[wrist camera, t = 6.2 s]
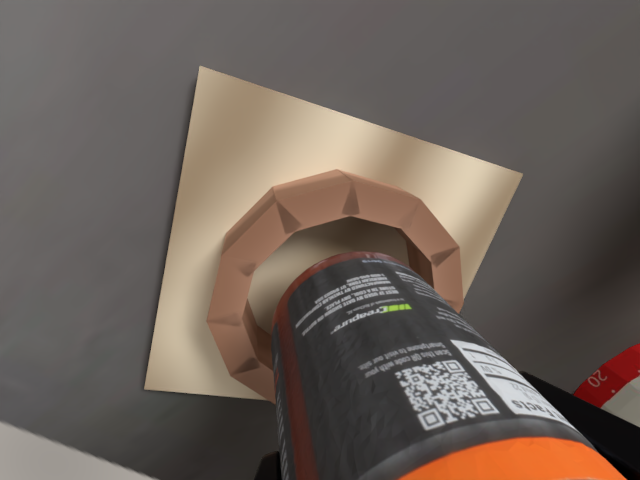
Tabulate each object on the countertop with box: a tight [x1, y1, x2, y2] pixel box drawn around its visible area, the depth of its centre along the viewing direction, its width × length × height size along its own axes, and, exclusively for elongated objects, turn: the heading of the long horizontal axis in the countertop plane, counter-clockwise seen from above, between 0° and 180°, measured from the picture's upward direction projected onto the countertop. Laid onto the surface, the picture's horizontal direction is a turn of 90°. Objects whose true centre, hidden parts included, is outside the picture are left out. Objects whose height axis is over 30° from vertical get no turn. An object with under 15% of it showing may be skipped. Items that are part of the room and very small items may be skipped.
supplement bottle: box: [271, 251, 627, 480], centre depth 7 cm, size 6×6×11 cm
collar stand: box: [144, 66, 523, 405], centre depth 15 cm, size 14×14×3 cm
